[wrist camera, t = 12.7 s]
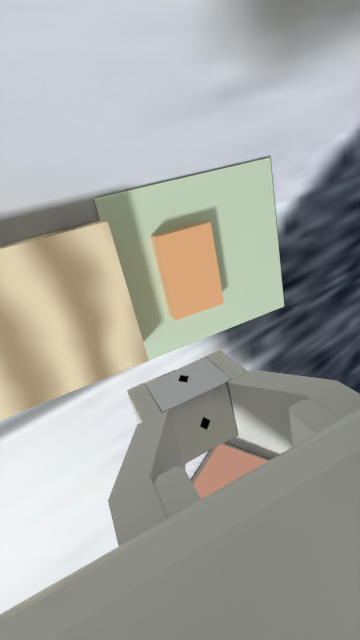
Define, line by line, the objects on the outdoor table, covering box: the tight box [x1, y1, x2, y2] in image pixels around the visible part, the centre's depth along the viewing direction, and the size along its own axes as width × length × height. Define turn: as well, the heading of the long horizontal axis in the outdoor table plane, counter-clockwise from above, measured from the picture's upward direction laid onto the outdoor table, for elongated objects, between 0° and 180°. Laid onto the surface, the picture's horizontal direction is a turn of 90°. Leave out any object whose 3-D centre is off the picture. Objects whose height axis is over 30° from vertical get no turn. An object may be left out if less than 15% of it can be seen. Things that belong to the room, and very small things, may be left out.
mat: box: [94, 158, 284, 360], centre depth 36 cm, size 20×18×1 cm
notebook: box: [191, 443, 270, 499], centre depth 52 cm, size 27×17×2 cm, turn 56°
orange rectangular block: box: [151, 222, 224, 320], centre depth 35 cm, size 6×9×2 cm, turn 13°
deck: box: [0, 221, 149, 420], centre depth 29 cm, size 22×14×4 cm, turn 103°
